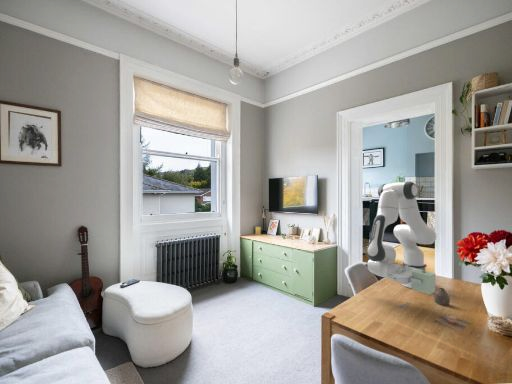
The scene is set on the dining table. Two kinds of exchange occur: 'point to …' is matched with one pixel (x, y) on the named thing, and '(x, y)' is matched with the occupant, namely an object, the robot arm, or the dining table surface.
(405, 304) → the mat
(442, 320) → the board
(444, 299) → the brown rounded lump
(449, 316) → the bowl
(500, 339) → the dining table surface
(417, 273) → the mint green lunchbox
